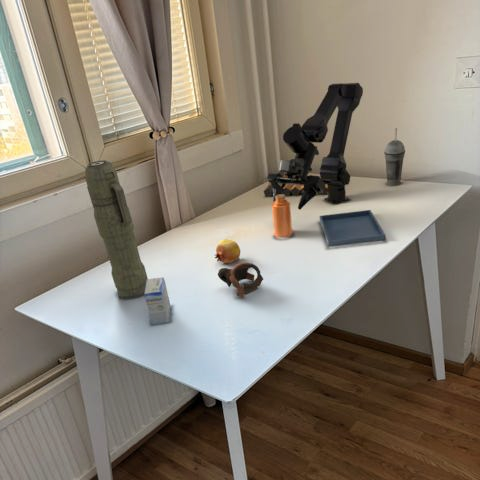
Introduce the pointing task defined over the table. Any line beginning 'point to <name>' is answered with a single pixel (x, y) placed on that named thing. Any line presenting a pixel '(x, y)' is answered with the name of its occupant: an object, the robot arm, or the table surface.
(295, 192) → the pan flute
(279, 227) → the orange bottle
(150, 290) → the medicine box
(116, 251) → the thermos
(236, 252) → the fruit
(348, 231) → the blue rectangular tray
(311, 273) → the table surface
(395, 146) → the beverage cup
